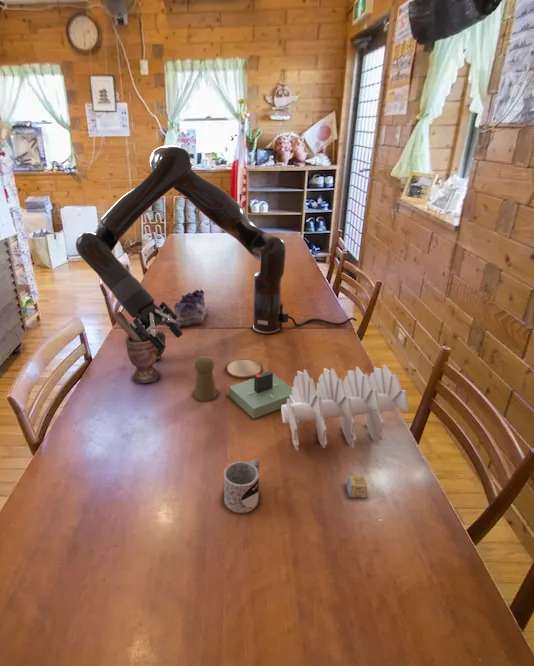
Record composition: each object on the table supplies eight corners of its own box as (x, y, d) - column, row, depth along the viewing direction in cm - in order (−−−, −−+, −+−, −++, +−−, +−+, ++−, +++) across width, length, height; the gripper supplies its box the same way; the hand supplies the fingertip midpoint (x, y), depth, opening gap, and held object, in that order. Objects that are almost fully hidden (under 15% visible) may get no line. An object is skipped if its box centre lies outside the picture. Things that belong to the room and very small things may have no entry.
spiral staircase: (280, 443, 110) (380, 431, 111) (294, 464, 92) (413, 450, 94) (272, 368, 110) (372, 357, 111) (285, 375, 92) (404, 362, 94)
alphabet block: (346, 486, 92) (347, 474, 90) (362, 486, 91) (363, 475, 90) (349, 498, 89) (351, 486, 87) (365, 498, 89) (367, 486, 87)
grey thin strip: (247, 518, 85) (247, 491, 82) (217, 503, 88) (216, 477, 85) (271, 484, 92) (272, 458, 90) (243, 472, 96) (243, 447, 93)
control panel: (271, 381, 128) (271, 372, 127) (298, 402, 119) (298, 391, 118) (229, 396, 122) (228, 386, 121) (253, 418, 113) (253, 408, 111)
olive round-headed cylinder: (219, 390, 125) (219, 355, 120) (212, 402, 119) (210, 366, 115) (199, 387, 126) (197, 352, 122) (191, 398, 121) (188, 362, 116)
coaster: (249, 358, 141) (249, 356, 141) (267, 372, 133) (267, 370, 133) (220, 366, 136) (220, 365, 136) (238, 381, 129) (238, 379, 128)
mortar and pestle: (117, 386, 127) (108, 321, 119) (122, 370, 135) (113, 308, 127) (159, 384, 128) (152, 319, 119) (161, 369, 136) (155, 307, 127)
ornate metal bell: (169, 354, 144) (167, 331, 141) (164, 365, 138) (162, 341, 134) (146, 353, 145) (144, 330, 142) (140, 364, 138) (137, 341, 135)
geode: (180, 307, 180) (183, 283, 176) (209, 311, 179) (212, 287, 175) (169, 326, 161) (171, 300, 157) (201, 331, 161) (204, 305, 157)
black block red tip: (269, 385, 121) (269, 369, 119) (272, 388, 120) (273, 372, 118) (254, 390, 119) (254, 374, 117) (257, 393, 117) (257, 377, 115)
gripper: (122, 296, 112) (165, 346, 113) (155, 279, 124) (193, 324, 124) (108, 313, 117) (149, 360, 117) (141, 295, 128) (178, 338, 129)
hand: (172, 342), depth 121 cm, fingers open, 8 cm apart
